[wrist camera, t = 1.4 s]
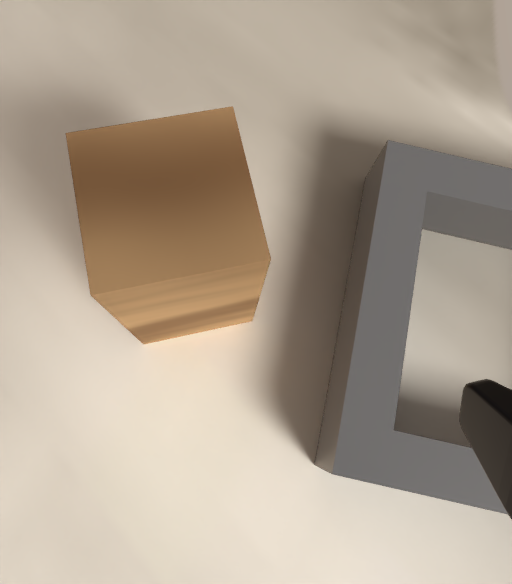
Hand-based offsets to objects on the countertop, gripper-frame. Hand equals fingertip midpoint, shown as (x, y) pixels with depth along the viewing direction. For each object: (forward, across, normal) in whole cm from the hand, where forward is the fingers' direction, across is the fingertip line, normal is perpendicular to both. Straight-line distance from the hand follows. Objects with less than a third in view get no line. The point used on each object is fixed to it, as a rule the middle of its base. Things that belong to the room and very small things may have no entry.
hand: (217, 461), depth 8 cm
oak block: (+14, 0, +4) cm, 15 cm away
